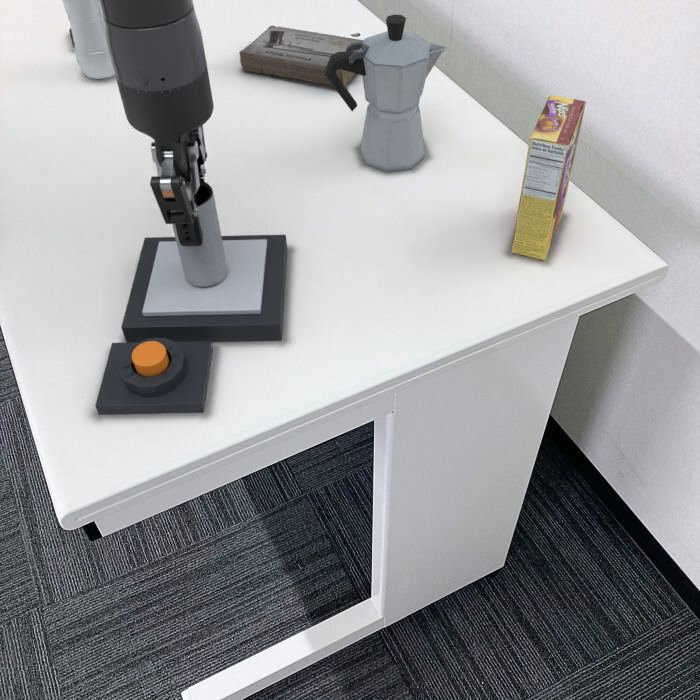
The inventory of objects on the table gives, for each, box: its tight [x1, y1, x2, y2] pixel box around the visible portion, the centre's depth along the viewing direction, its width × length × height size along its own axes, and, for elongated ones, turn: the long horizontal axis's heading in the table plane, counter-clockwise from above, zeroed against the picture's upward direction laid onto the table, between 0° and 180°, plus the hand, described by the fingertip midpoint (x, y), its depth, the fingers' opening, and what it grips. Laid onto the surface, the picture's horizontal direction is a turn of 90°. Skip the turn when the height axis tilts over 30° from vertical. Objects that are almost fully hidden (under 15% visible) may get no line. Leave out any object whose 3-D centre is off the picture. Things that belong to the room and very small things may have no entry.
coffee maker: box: [324, 13, 448, 173], centre depth 91 cm, size 15×9×18 cm, turn 100°
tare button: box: [132, 341, 169, 377], centre depth 70 cm, size 3×3×2 cm
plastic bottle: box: [61, 0, 115, 80], centre depth 106 cm, size 6×7×20 cm
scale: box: [121, 234, 288, 343], centre depth 80 cm, size 16×14×3 cm
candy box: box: [511, 94, 587, 261], centre depth 81 cm, size 9×4×15 cm, turn 157°
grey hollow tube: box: [171, 180, 227, 287], centre depth 74 cm, size 4×4×10 cm
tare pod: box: [95, 338, 214, 415], centre depth 72 cm, size 10×8×3 cm
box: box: [238, 25, 364, 87], centre depth 112 cm, size 11×17×3 cm, turn 66°
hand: (195, 226), depth 74 cm, fingers closed on grey hollow tube, 4 cm apart
